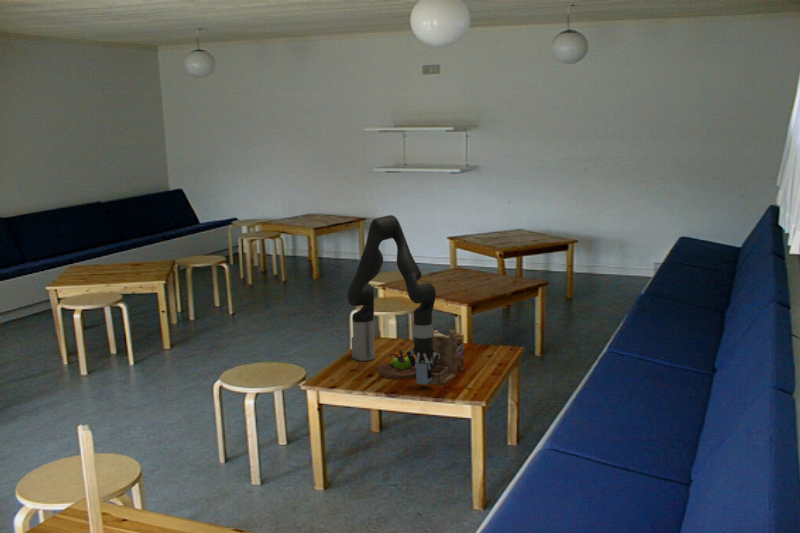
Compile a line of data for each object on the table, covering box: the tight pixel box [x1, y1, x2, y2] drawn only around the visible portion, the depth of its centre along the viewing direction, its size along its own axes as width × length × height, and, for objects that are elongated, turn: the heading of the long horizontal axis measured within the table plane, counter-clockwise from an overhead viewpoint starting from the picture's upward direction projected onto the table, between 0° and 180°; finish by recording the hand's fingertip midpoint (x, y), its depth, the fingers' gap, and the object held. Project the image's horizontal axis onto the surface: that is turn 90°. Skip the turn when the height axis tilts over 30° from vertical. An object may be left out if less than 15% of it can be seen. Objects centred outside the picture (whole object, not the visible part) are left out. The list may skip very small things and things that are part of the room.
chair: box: [427, 328, 458, 386], centre depth 303 cm, size 12×14×19 cm
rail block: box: [415, 360, 432, 386], centre depth 293 cm, size 4×7×8 cm, turn 155°
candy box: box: [445, 332, 465, 372], centre depth 314 cm, size 9×4×15 cm, turn 123°
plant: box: [376, 348, 416, 381], centre depth 313 cm, size 20×20×11 cm
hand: (424, 377), depth 293 cm, fingers closed on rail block, 4 cm apart
